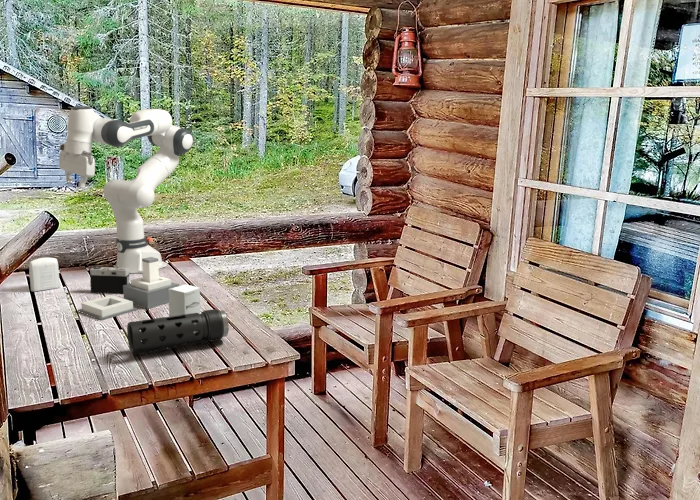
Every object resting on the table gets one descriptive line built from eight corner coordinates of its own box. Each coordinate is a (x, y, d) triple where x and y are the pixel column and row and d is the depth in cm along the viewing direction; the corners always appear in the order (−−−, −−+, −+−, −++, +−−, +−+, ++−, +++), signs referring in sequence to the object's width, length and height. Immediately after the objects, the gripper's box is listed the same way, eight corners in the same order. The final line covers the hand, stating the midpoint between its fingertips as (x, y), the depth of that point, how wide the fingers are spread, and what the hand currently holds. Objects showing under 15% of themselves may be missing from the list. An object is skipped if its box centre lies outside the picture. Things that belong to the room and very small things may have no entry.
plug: (152, 282, 221) (151, 256, 218) (159, 284, 218) (158, 258, 216) (143, 285, 217) (142, 258, 215) (150, 287, 215) (149, 260, 213)
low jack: (113, 301, 216) (112, 293, 215) (137, 309, 208) (136, 301, 208) (77, 311, 205) (76, 303, 204) (101, 320, 197) (101, 311, 196)
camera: (135, 288, 233) (134, 264, 230) (124, 295, 224) (123, 270, 222) (101, 286, 234) (100, 262, 232) (89, 293, 225) (87, 268, 223)
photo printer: (57, 285, 233) (55, 255, 231) (61, 288, 230) (59, 257, 228) (29, 290, 226) (26, 258, 224) (32, 292, 223) (30, 261, 221)
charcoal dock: (155, 292, 229) (154, 272, 227) (179, 299, 221) (178, 279, 219) (123, 301, 217) (122, 280, 216) (148, 308, 210) (147, 287, 208)
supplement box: (184, 329, 191) (183, 292, 188) (168, 325, 195) (167, 288, 192) (201, 323, 198) (200, 287, 195) (185, 319, 201) (184, 283, 198)
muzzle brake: (128, 350, 174) (126, 317, 172) (219, 335, 188) (219, 304, 186) (134, 362, 166) (132, 327, 164) (229, 345, 180) (229, 313, 178)
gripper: (101, 153, 220) (97, 190, 222) (73, 146, 232) (70, 181, 234) (84, 152, 215) (81, 189, 217) (57, 144, 227) (54, 180, 229)
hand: (75, 185), depth 226 cm, fingers open, 8 cm apart
